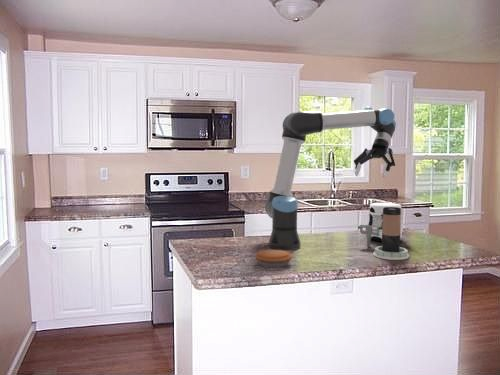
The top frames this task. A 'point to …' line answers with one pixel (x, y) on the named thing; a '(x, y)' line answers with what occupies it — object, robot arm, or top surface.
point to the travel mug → (391, 229)
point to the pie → (273, 258)
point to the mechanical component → (368, 232)
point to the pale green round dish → (391, 254)
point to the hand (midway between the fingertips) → (369, 175)
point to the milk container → (380, 218)
